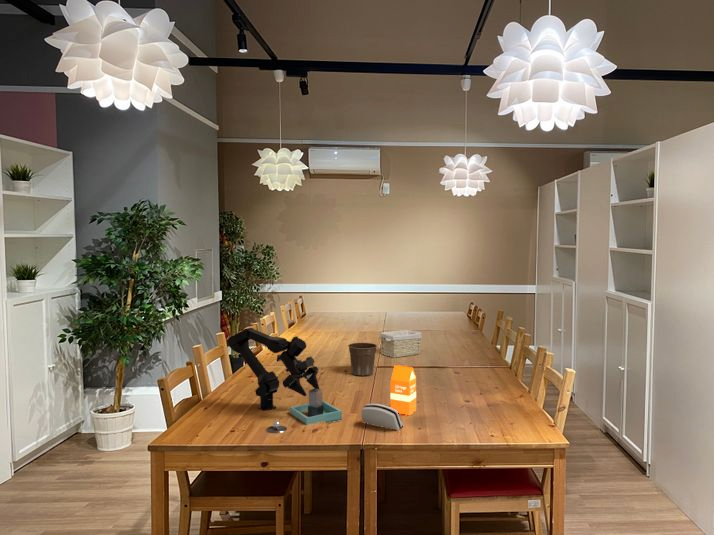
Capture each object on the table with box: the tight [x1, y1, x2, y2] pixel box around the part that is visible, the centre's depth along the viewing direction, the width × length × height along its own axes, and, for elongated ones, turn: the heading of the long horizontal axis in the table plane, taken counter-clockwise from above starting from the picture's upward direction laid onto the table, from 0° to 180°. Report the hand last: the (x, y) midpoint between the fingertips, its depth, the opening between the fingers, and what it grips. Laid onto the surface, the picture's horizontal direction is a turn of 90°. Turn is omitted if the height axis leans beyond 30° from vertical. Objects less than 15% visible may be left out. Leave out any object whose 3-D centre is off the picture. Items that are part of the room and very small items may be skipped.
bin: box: [289, 400, 343, 426], centre depth 206 cm, size 16×16×4 cm
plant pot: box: [347, 342, 378, 377], centre depth 276 cm, size 16×16×16 cm
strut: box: [307, 387, 323, 417], centre depth 206 cm, size 5×5×11 cm
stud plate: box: [265, 420, 288, 434], centre depth 190 cm, size 8×8×5 cm
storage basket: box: [379, 329, 423, 359], centre depth 324 cm, size 24×16×15 cm
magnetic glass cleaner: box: [360, 403, 404, 431], centre depth 197 cm, size 17×5×10 cm, turn 58°
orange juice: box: [390, 364, 417, 416], centre depth 214 cm, size 8×9×20 cm
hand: (312, 392), depth 206 cm, fingers open, 9 cm apart
